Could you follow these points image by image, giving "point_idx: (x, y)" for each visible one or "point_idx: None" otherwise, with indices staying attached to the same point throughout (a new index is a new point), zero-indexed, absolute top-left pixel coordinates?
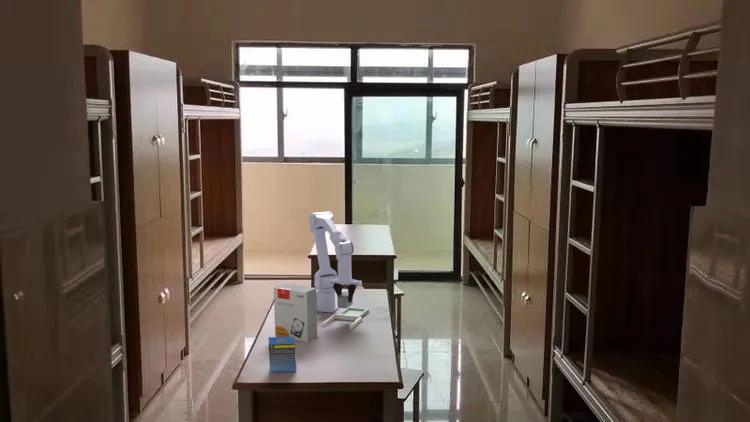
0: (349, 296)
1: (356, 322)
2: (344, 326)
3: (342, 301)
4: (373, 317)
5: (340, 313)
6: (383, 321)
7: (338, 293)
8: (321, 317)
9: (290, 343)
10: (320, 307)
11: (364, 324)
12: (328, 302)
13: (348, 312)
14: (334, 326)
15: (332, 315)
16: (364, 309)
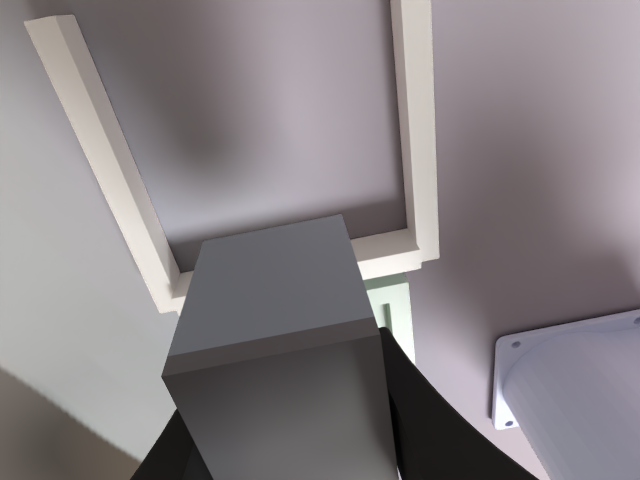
0: (178, 437)
1: (100, 178)
2: (191, 76)
3: (260, 287)
4: (148, 386)
5: (396, 311)
6: (3, 352)
7: (413, 429)
8: (539, 213)
9: None
10: (616, 347)
11: (68, 223)
12: (575, 401)
13: None
14: (287, 22)
15: (438, 238)
16: None
